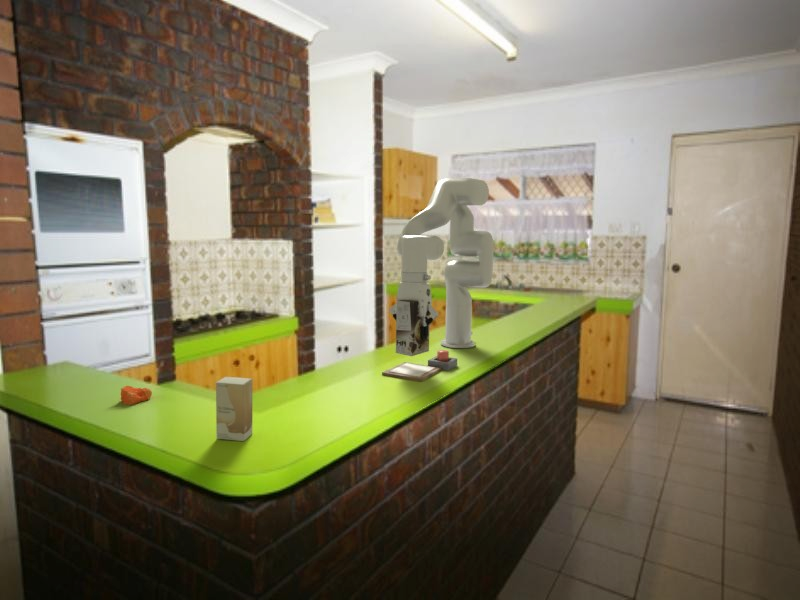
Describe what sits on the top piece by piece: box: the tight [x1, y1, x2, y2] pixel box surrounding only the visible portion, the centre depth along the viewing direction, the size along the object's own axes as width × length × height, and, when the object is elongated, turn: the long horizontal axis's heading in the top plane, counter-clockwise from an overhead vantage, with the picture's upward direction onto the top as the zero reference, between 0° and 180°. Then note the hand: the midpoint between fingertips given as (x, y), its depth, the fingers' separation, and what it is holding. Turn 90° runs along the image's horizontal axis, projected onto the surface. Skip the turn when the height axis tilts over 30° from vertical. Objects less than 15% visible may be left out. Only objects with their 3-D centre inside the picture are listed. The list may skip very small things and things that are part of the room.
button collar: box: [427, 355, 458, 372], centre depth 166 cm, size 7×7×2 cm
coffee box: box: [395, 299, 431, 357], centre depth 157 cm, size 9×6×16 cm
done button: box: [436, 349, 450, 362], centre depth 166 cm, size 4×4×3 cm
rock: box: [120, 385, 153, 406], centre depth 131 cm, size 12×12×4 cm
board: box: [381, 361, 443, 382], centre depth 159 cm, size 14×13×1 cm
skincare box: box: [215, 376, 253, 442], centre depth 109 cm, size 6×4×12 cm
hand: (412, 337), depth 157 cm, fingers closed on coffee box, 6 cm apart
